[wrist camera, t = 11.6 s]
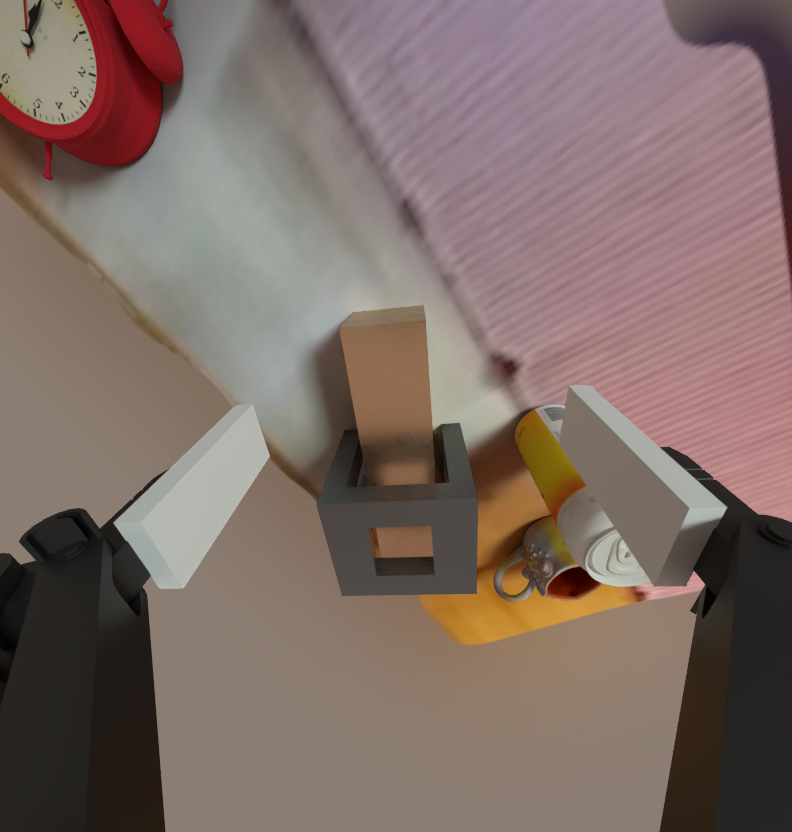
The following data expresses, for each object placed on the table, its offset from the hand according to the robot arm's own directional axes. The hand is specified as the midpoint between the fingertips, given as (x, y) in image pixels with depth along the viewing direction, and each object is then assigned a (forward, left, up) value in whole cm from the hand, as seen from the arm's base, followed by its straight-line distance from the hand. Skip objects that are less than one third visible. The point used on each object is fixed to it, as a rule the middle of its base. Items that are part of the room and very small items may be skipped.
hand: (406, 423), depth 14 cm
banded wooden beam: (+10, -2, -17) cm, 19 cm away
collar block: (+15, -2, -16) cm, 22 cm away
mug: (+26, +12, -17) cm, 34 cm away
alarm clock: (-20, -19, -17) cm, 32 cm away
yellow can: (+11, +12, -17) cm, 23 cm away
